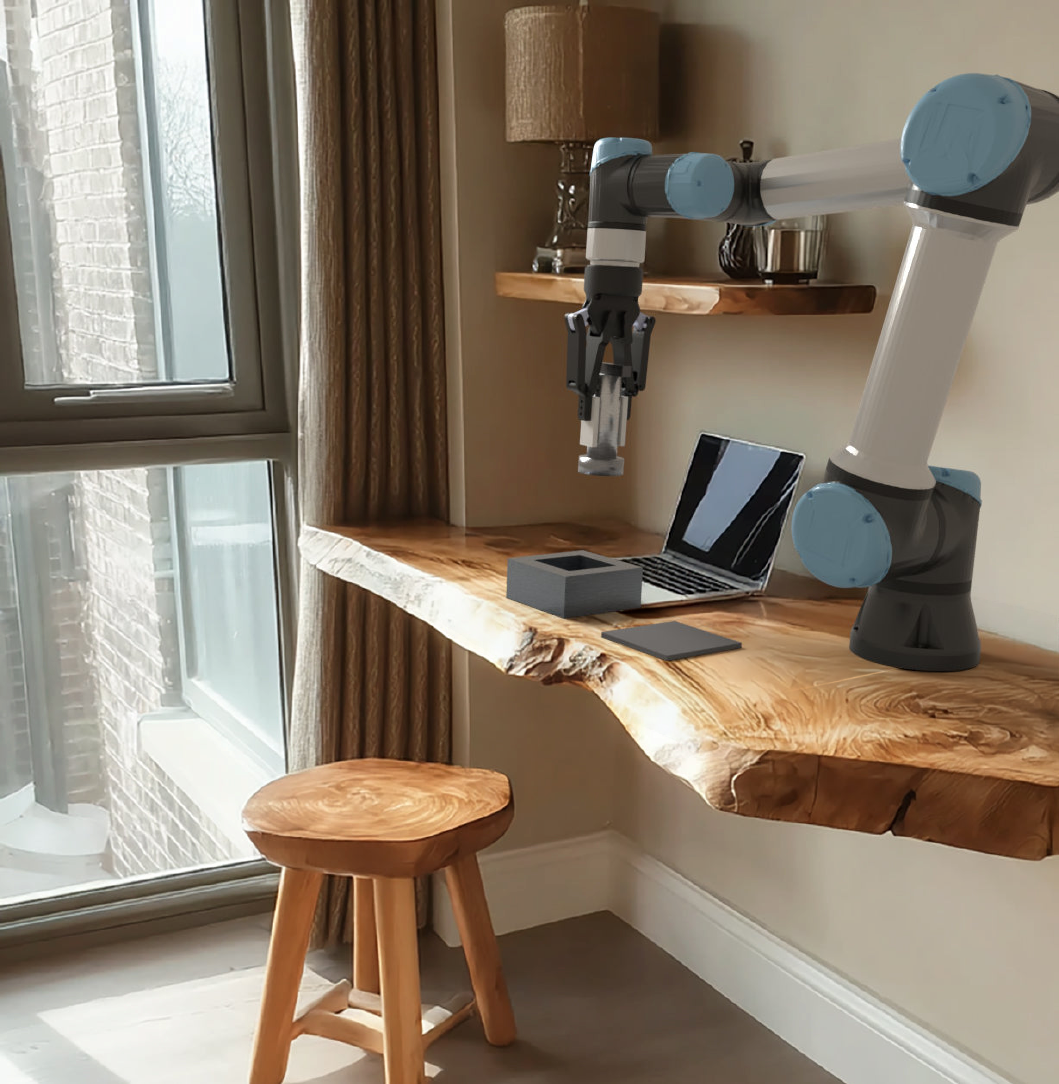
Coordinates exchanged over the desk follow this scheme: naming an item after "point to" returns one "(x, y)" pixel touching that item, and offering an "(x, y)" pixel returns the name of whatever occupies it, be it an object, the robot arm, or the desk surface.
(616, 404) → the chuck key
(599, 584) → the block
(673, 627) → the mat
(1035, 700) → the desk surface
